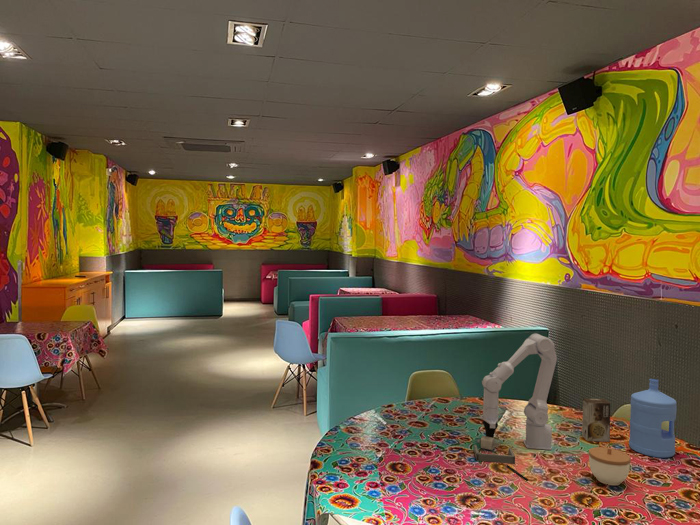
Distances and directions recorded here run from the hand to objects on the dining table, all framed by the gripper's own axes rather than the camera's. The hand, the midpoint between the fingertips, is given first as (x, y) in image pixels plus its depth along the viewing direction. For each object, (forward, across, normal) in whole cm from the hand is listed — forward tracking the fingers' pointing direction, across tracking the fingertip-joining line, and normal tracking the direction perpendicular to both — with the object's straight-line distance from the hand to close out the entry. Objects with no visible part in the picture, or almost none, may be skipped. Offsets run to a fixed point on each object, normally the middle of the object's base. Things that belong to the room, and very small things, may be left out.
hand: (489, 440), depth 201 cm
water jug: (+2, -8, +63) cm, 64 cm away
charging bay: (+2, +12, 0) cm, 12 cm away
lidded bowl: (+2, +24, +36) cm, 44 cm away
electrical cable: (+2, +25, +6) cm, 26 cm away
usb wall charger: (+2, +4, 0) cm, 4 cm away
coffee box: (+2, -17, +45) cm, 48 cm away
